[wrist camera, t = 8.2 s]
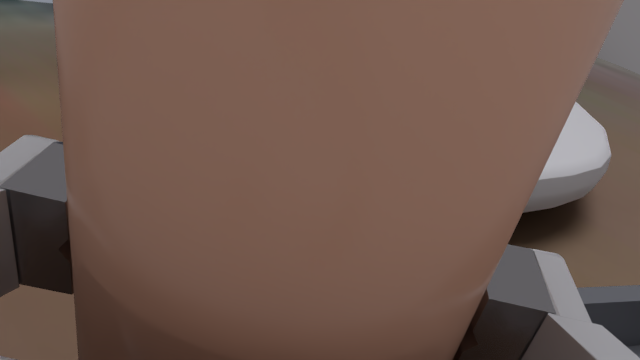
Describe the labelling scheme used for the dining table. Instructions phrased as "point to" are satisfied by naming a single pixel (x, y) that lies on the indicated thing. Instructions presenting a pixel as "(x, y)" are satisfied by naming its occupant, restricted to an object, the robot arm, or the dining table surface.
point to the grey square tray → (615, 311)
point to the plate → (572, 163)
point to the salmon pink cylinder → (304, 167)
